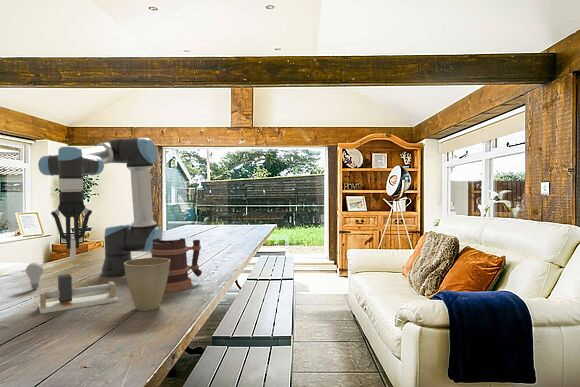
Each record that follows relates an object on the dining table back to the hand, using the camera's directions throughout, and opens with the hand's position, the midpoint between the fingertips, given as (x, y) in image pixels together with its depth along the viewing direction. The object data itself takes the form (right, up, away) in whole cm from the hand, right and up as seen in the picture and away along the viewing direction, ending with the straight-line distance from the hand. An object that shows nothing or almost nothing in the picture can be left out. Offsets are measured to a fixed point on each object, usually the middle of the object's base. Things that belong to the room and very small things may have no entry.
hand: (72, 257), depth 144 cm
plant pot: (+28, -17, -5) cm, 33 cm away
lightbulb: (-28, -17, +23) cm, 40 cm away
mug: (+29, -16, +26) cm, 42 cm away
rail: (+2, -17, +1) cm, 17 cm away
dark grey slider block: (-2, -15, -1) cm, 15 cm away
